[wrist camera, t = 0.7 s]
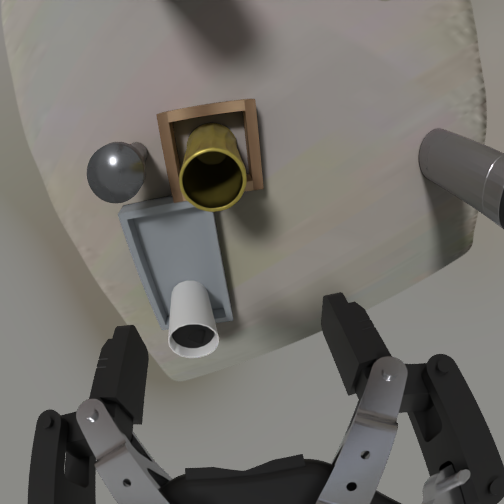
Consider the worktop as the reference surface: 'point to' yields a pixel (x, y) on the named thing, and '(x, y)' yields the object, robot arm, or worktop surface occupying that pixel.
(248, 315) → the worktop surface
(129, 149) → the knob post
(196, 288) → the white cup
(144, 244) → the tray
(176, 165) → the holder
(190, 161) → the vase
